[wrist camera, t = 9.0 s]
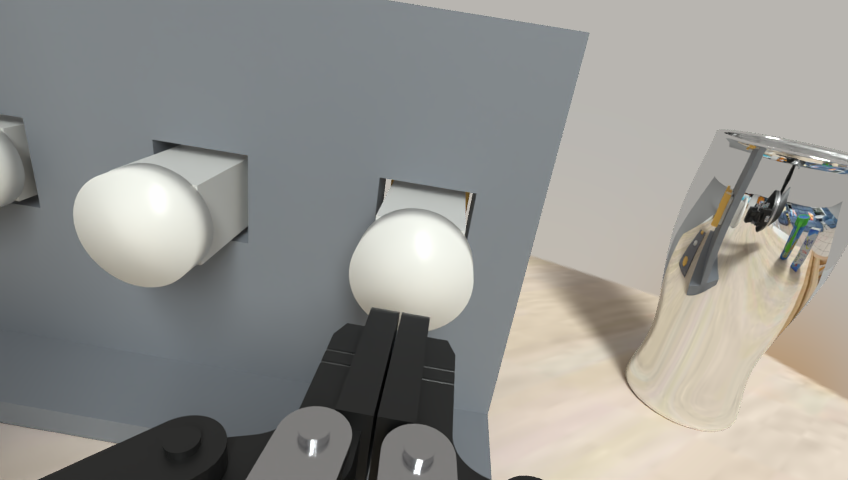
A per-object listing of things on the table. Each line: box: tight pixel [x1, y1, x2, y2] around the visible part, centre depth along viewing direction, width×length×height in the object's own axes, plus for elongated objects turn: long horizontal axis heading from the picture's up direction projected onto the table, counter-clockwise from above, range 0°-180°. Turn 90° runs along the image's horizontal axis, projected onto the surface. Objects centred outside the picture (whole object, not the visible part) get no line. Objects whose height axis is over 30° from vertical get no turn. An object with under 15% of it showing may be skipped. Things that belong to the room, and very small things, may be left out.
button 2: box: [0, 114, 38, 207], centre depth 22 cm, size 4×10×4 cm, turn 175°
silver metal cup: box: [625, 130, 848, 432], centre depth 25 cm, size 7×7×15 cm
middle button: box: [73, 145, 248, 287], centre depth 19 cm, size 4×10×4 cm, turn 175°
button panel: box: [0, 0, 589, 480], centre depth 20 cm, size 27×10×18 cm, turn 85°
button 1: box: [349, 180, 474, 331], centre depth 19 cm, size 4×10×4 cm, turn 175°
